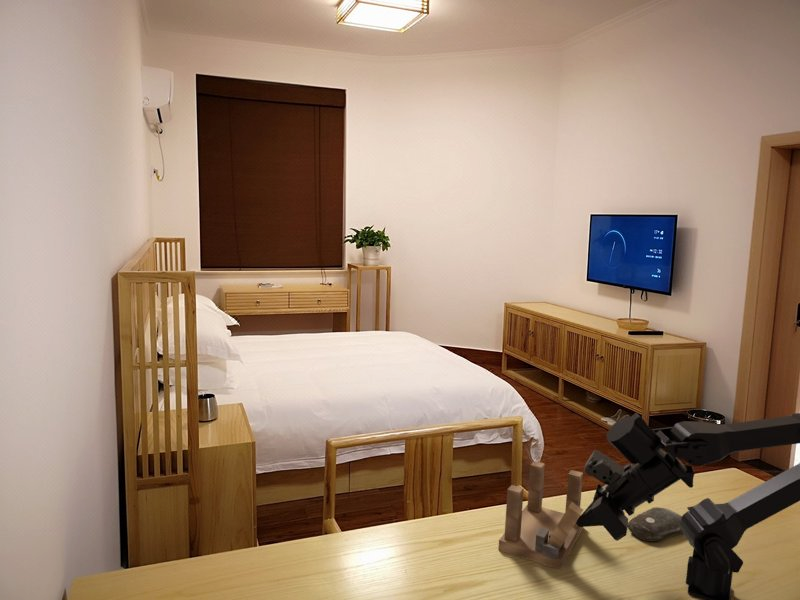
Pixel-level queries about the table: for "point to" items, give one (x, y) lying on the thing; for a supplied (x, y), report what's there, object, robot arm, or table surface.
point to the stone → (655, 524)
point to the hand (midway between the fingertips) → (577, 523)
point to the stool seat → (538, 520)
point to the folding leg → (565, 525)
